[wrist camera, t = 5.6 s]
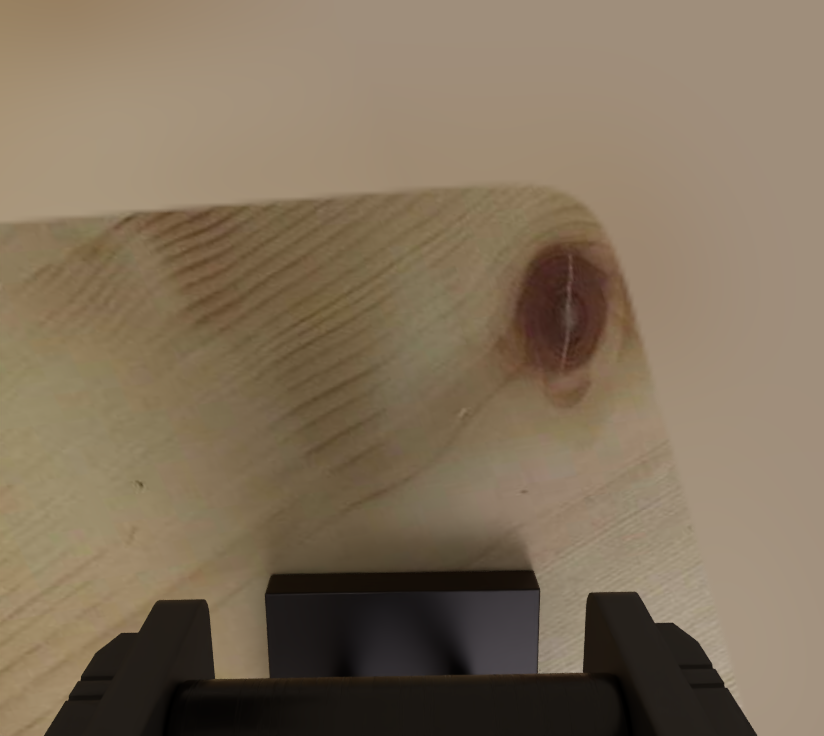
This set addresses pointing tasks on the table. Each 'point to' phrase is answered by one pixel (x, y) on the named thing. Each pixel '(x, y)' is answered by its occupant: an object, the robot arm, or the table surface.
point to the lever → (402, 706)
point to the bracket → (402, 624)
